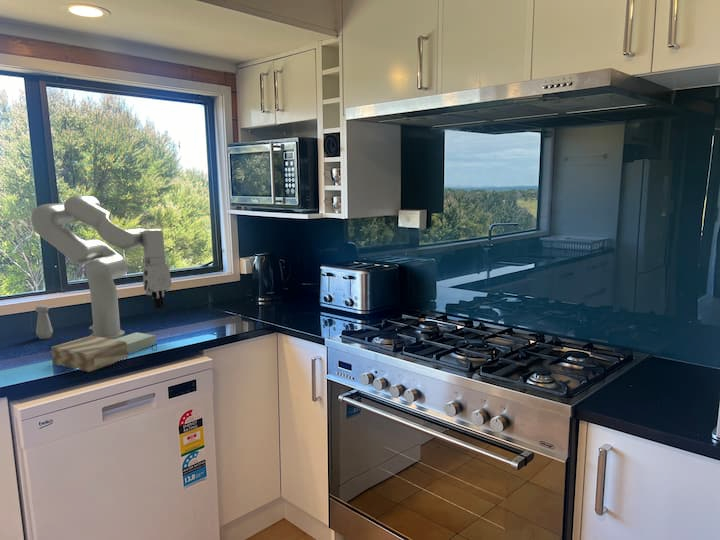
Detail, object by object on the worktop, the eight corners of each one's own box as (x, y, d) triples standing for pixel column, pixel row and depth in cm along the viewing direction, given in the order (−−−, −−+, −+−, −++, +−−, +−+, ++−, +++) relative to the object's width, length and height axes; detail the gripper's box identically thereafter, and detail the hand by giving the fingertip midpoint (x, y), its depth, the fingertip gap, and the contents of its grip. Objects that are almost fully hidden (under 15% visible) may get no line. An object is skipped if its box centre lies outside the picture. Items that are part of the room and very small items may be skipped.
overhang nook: (53, 363, 181) (51, 346, 180) (92, 351, 194) (91, 335, 193) (88, 371, 173) (87, 354, 172) (127, 358, 186) (126, 341, 185)
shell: (108, 350, 195) (107, 341, 195) (137, 341, 207) (136, 332, 206) (127, 354, 191) (126, 344, 190) (156, 344, 202) (155, 335, 202)
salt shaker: (38, 336, 214) (34, 304, 211) (54, 335, 216) (51, 303, 213) (35, 340, 208) (31, 307, 206) (51, 338, 210) (48, 306, 208)
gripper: (146, 264, 197) (151, 312, 200) (176, 258, 210) (180, 304, 213) (132, 263, 200) (136, 311, 203) (162, 258, 214) (166, 303, 216)
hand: (159, 307), depth 208 cm, fingers closed
